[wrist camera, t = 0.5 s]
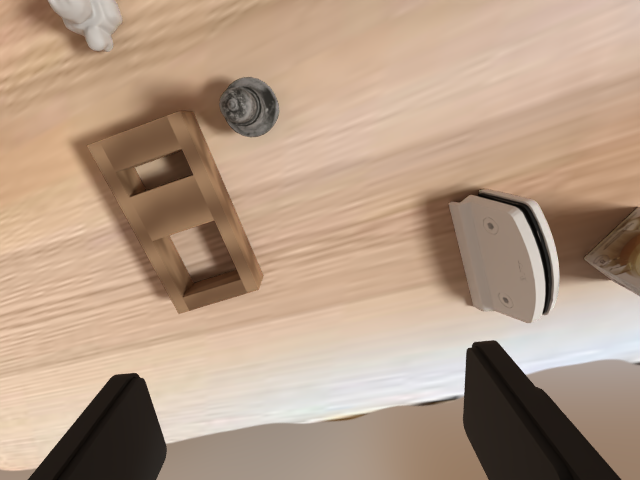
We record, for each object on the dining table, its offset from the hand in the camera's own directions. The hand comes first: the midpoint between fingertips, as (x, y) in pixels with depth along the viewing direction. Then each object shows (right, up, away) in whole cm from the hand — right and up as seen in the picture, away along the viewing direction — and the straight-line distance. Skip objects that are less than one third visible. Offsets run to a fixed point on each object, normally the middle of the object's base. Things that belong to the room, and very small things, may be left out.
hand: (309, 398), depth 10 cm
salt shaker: (-7, +20, +29) cm, 36 cm away
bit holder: (-16, +8, +33) cm, 38 cm away
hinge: (+23, +4, +35) cm, 42 cm away
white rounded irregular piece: (-22, +28, +26) cm, 44 cm away
